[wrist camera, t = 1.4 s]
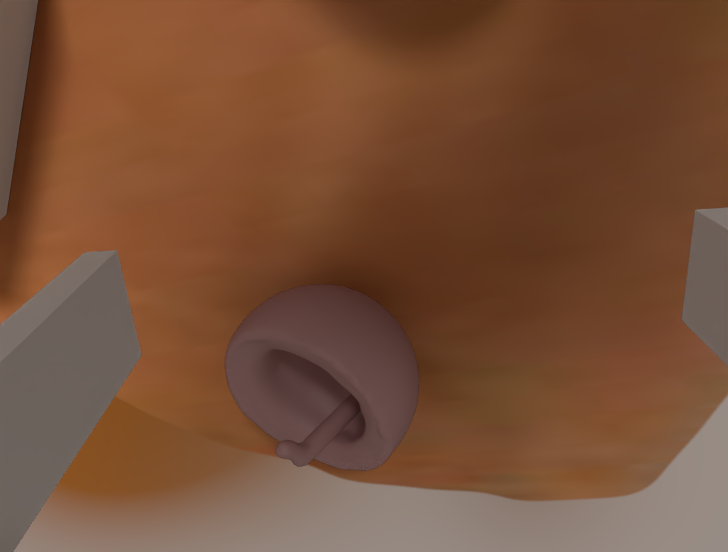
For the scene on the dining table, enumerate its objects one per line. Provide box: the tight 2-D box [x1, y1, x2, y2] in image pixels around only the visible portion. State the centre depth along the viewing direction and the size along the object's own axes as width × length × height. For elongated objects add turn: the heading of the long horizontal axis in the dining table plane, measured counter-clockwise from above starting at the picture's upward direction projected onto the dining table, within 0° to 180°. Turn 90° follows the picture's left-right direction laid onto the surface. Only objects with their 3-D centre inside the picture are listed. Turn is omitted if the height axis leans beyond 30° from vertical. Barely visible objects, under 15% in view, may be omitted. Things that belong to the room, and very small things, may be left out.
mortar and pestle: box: [225, 284, 419, 471], centre depth 40 cm, size 12×12×11 cm
